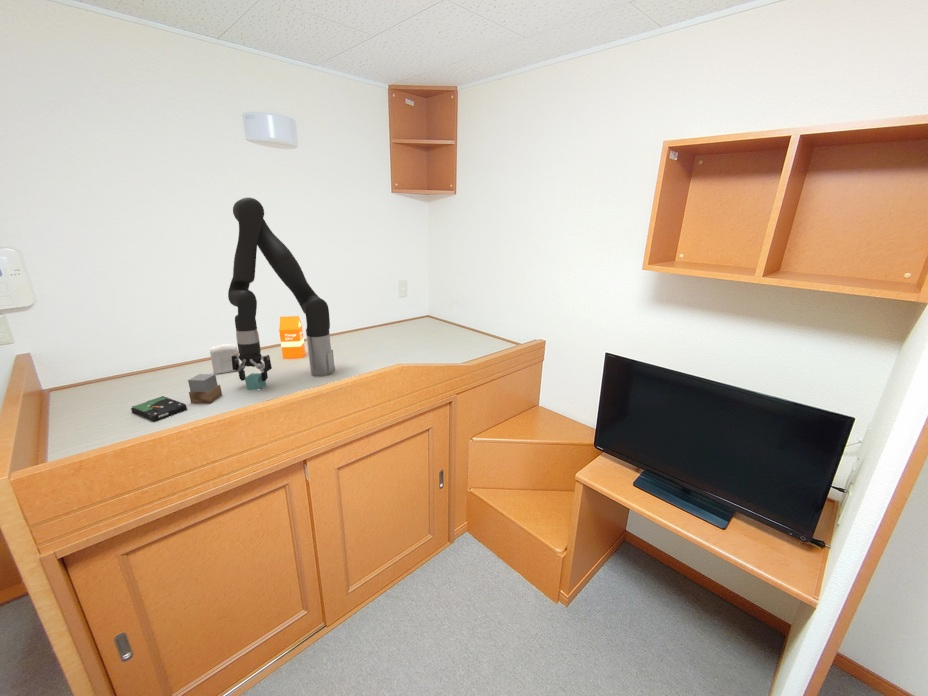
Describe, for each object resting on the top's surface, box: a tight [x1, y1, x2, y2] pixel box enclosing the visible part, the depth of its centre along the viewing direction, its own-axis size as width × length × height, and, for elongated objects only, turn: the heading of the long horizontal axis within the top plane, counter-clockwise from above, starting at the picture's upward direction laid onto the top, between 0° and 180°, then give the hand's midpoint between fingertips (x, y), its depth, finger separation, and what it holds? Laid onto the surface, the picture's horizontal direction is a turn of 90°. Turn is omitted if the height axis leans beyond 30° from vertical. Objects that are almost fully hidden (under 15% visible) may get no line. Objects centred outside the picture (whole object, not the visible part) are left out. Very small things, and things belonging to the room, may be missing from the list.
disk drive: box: [130, 395, 188, 423], centre depth 135 cm, size 10×3×15 cm
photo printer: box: [209, 343, 241, 375], centre depth 171 cm, size 10×4×12 cm, turn 123°
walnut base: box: [188, 384, 223, 405], centre depth 144 cm, size 7×7×4 cm
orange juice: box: [278, 315, 306, 360], centre depth 190 cm, size 8×9×20 cm
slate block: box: [187, 373, 219, 392], centre depth 143 cm, size 6×6×4 cm
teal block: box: [244, 372, 267, 391], centre depth 155 cm, size 5×5×5 cm
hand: (253, 380), depth 155 cm, fingers open, 8 cm apart
